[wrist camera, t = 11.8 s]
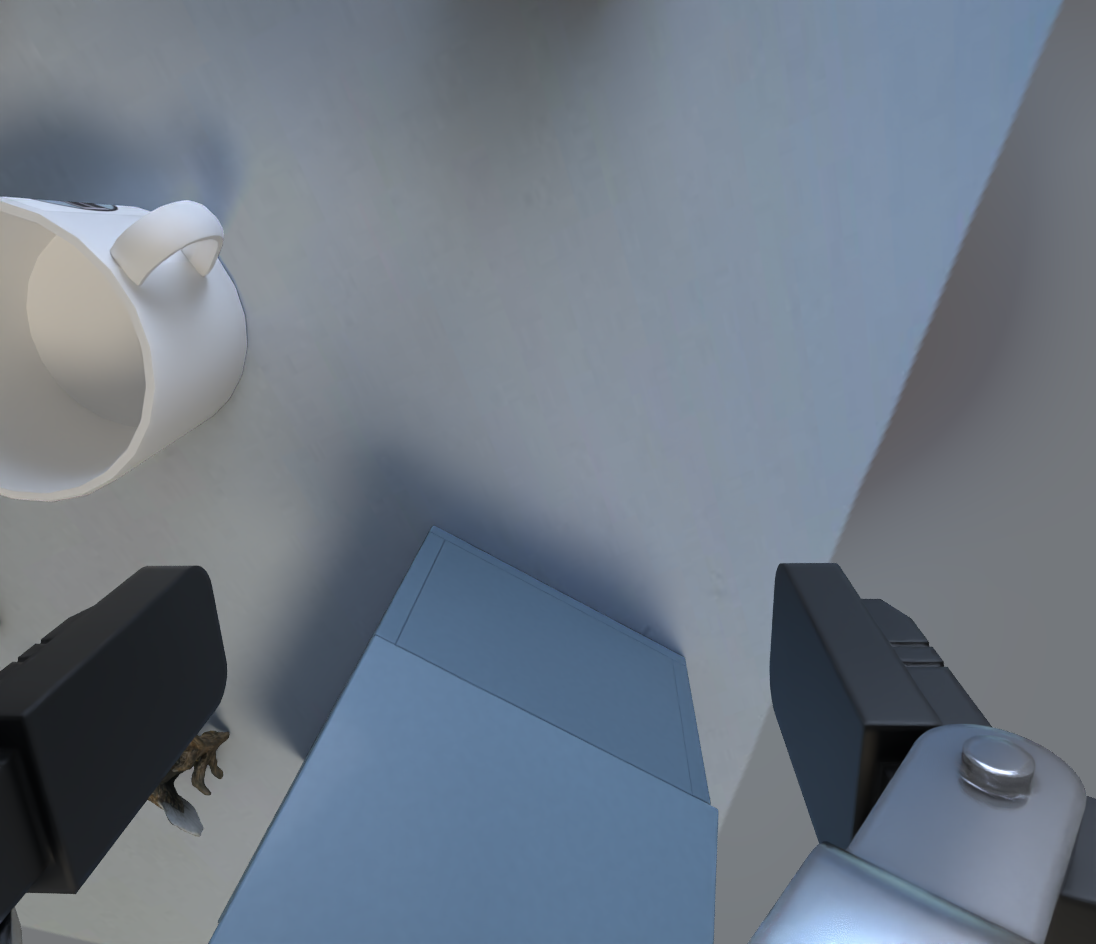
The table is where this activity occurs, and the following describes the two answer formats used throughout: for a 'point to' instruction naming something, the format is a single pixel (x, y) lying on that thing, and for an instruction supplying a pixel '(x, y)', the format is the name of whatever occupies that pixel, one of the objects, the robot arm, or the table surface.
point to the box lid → (471, 830)
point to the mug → (108, 339)
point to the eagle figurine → (199, 757)
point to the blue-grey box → (545, 660)
